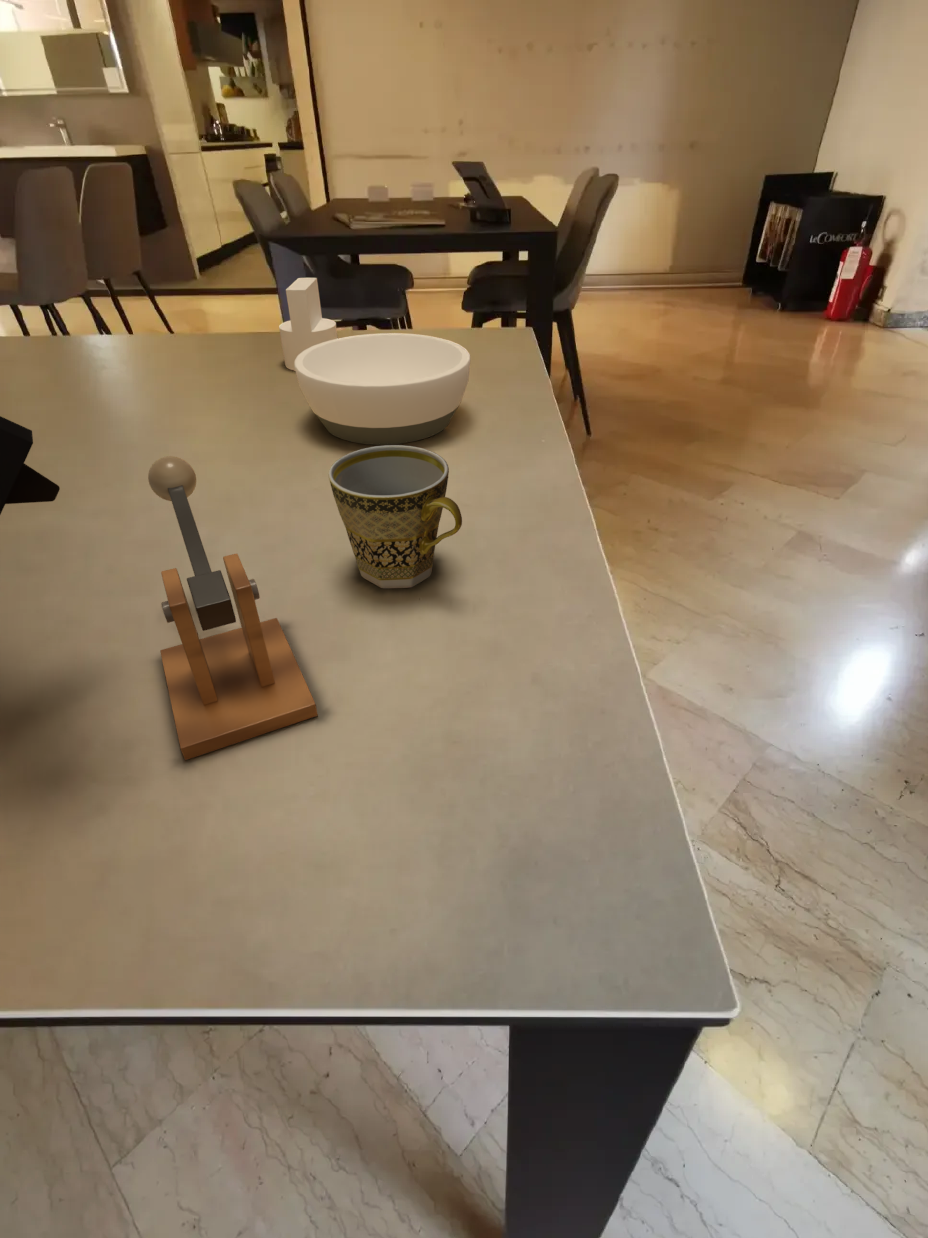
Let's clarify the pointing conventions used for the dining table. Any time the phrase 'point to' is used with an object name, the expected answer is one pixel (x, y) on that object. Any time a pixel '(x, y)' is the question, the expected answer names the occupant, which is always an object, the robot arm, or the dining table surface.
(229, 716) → the bracket
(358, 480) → the ceramic cup
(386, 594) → the dining table surface
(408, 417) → the bowl
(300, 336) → the cylinder with rectangular tab
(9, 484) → the robot arm
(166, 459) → the lever
